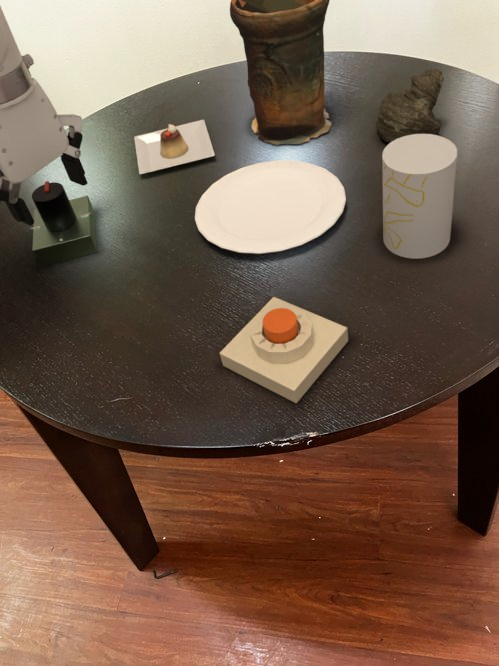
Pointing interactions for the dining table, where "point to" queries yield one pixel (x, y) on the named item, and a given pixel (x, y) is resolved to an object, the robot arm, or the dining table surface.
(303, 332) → the square push button base
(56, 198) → the dial
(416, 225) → the white patterned cylinder
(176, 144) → the dessert
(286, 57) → the vessel
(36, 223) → the dial panel
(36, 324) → the dining table surface
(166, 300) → the dining table surface
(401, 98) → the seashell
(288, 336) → the button
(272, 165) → the plate
